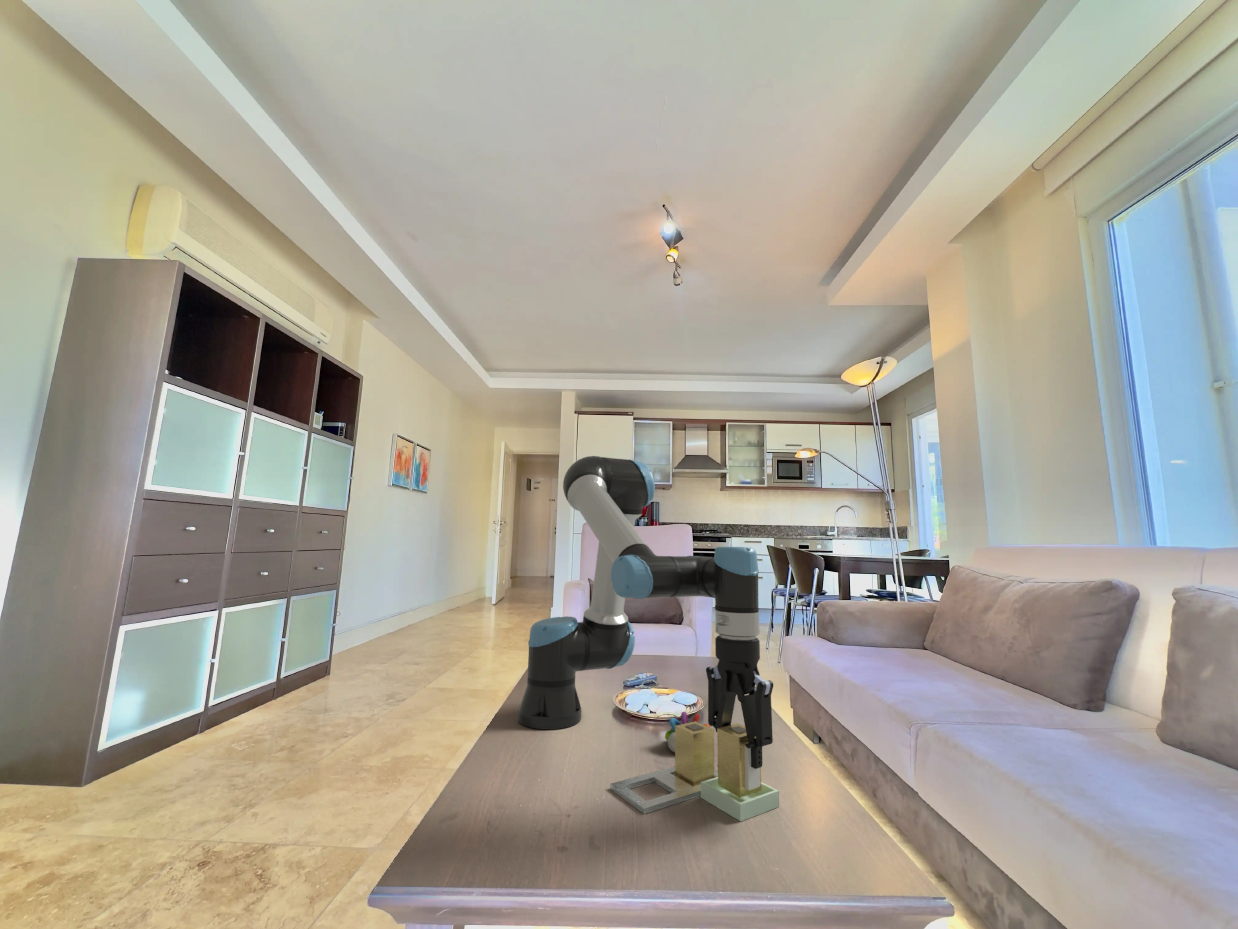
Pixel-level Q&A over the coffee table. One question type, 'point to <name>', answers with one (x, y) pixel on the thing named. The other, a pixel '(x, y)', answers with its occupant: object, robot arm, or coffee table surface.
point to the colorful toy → (674, 722)
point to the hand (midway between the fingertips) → (739, 780)
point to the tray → (740, 800)
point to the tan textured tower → (694, 753)
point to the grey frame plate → (662, 778)
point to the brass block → (733, 760)
